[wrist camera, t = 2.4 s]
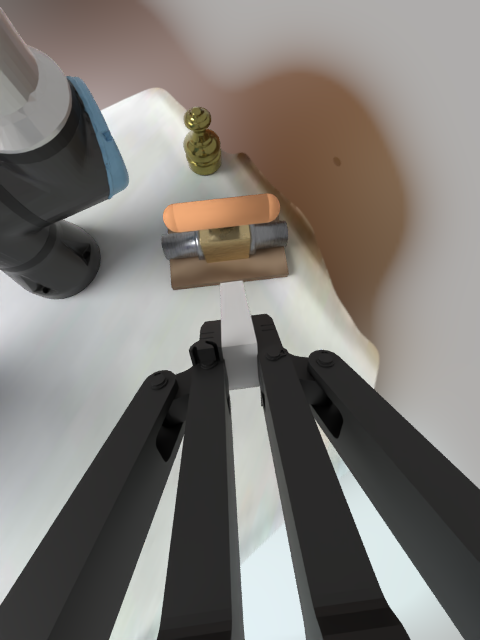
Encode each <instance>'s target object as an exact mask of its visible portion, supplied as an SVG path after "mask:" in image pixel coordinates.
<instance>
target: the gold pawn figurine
mask: <svg viewBox="0 0 480 640" xmlns="http://www.w3.org/2000/svg"><path fill="white" fill-rule="evenodd" d="M210 123H211V115H210V112H209V111H208V110H207V109H205V108H202V107H193V108H190V109H189V110H188V111H187V112H186V113H185V114H184V124H185V126H186V127H187V128H188V129H190V130H192V131H190V132H189V133H188V134H187V135H186V137H185V139H184V143H183V146H184V150H185V153H186V158H187V161H188V165H189V167H190V169H191V170H192V171H193V172H195V173H197V174H200V175H209V174H212V173H214V172H216V171H217V170H218V169H219V167H220V165H221V162H222V158H221V149H220V139H219V137H218V135H217V134H216V133H215V132H214V131H213V130H211V129H208V127H209V125H210Z"/></svg>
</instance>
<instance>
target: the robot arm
mask: <svg viewBox="0 0 480 640" xmlns="http://www.w3.org/2000/svg"><path fill="white" fill-rule="evenodd" d="M128 183H129V176H128V172H127V169H126V166H125V164H124V161H123V159H122V156H121V154H120V152H119V149H118V147H117V145H116V143H115V141H114V139H113V137H112V136H111V133H110V131H109V129H108V126H107V124H106V122H105V119H104V117H103V115H102V113H101V111H100V110H99V108H98V106H97V104H96V102H95V100H94V99H93V96H92V94H91V93H90V91H89V89H88V88H87V86H86V84H85V83H84V82H83V81H82V79H80V78H78V77H70V76H67V77H66V76H65V74H64V73H63V72H62V70H61V68H60V67H59V66H58V65H57V64H56V63H55V62H54V61H53V60H52V59H51V58H50V57H49V56H48V55H46V54H45V53H43V52H41V51H40V50H38V49H36V48H34V47H31V46H29V45H26V44H25V42H24V41H23V39H22V38H21V36H20V35H19V33H18V32H17V30H16V29H15V28H14V26H13V24H12V23H11V22H10V20H9V19H8V17H7V16H6V14H5V13H4V11H3V10H2V9H1V7H0V270H2V271H3V272H4V273H6V274H7V275H8V276H9V277H11V278H12V279H13V280H14V281H15V282H17V283H18V284H19V285H20V286H22V287H23V288H24V289H26V290H27V291H29V292H31V293H33V294H36V295H39V296H42V297H45V298H49V299H62V298H67V297H70V296H73V295H75V294H77V293H79V292H80V291H82V290H83V289H84V288H86V287H87V286H88V285H89V284H90V283H91V281H92V280H93V279H94V277H95V275H96V273H97V271H98V269H99V265H100V251H99V247H98V245H97V243H96V241H95V240H94V239H93V238H92V237H91V236H90V235H89V234H88V233H87V232H86V231H84V230H83V229H82V228H80V227H79V226H77V225H75V224H73V223H70V222H68V221H65V220H63V219H65V218H67V217H69V216H72V215H74V214H76V213H78V212H81V211H83V210H85V209H87V208H89V207H92V206H94V205H96V204H98V203H101V202H103V201H105V200H107V199H111V198H112V196H113V195H115V194H117V193H119V192H120V191H122V190H124V189H125V188H126V187H127V186H128ZM220 296H221V320H216V321H207V322H205V323H204V324H203V325H202V327H201V330H200V340H199V341H198V342H196V343H194V344H193V345H192V346H191V347H190V349H189V353H190V357H191V360H192V364H193V366H192V367H191V368H190V369H188V370H186V371H184V372H182V373H179V374H176V375H175V374H174V373H172V372H171V371H168V370H162V371H158V372H155V373H153V374H152V375H150V376H149V377H148V378H147V379H146V380H145V381H144V382H143V384H142V386H141V387H140V389H139V390H138V392H137V393H136V395H135V396H134V398H133V400H132V401H131V403H130V404H129V406H128V407H127V409H126V410H125V412H124V414H123V415H122V417H121V418H120V420H119V421H118V423H117V424H116V426H115V428H114V429H113V431H112V432H111V434H110V435H109V437H108V439H107V440H106V442H105V443H104V445H103V446H102V448H101V449H100V451H99V453H98V454H97V456H96V457H95V459H94V460H93V462H92V463H91V465H90V467H89V468H88V470H87V471H86V473H85V474H84V476H83V477H82V479H81V481H80V482H79V484H78V485H77V487H76V488H75V490H74V492H73V493H72V495H71V496H70V498H69V499H68V501H67V502H66V504H65V506H64V507H63V509H62V510H61V512H60V513H59V515H58V516H57V518H56V520H55V521H54V523H53V524H52V526H51V527H50V529H49V531H48V532H47V534H46V535H45V537H44V538H43V540H42V541H41V543H40V545H39V546H38V548H37V549H36V551H35V552H34V554H33V555H32V557H31V559H30V560H29V562H28V563H27V565H26V566H25V568H24V569H23V571H22V573H21V574H20V576H19V577H18V579H17V580H16V582H15V584H14V585H13V587H12V588H11V590H10V591H9V593H8V594H7V596H6V598H5V599H4V601H3V602H2V604H1V605H0V640H109V638H110V635H111V632H112V630H113V627H114V624H115V621H116V619H117V616H118V613H119V611H120V608H121V605H122V602H123V600H124V597H125V594H126V591H127V589H128V586H129V583H130V580H131V578H132V575H133V572H134V570H135V567H136V564H137V561H138V559H139V556H140V553H141V550H142V548H143V545H144V542H145V539H146V537H147V534H148V531H149V529H150V526H151V523H152V520H153V518H154V515H155V512H156V509H157V507H158V504H159V501H160V498H161V496H162V493H163V490H164V488H165V485H166V482H167V479H168V477H169V474H170V471H171V468H172V466H173V463H174V460H175V458H176V455H177V452H178V449H179V447H180V444H181V441H182V438H183V436H184V441H183V449H182V457H181V464H180V472H179V480H178V488H177V496H176V504H175V512H174V520H173V528H172V536H171V544H170V552H169V560H168V568H167V576H166V584H165V592H164V600H163V607H162V615H161V622H160V629H159V633H158V637H157V640H245V639H244V625H243V609H242V592H241V574H240V557H239V540H238V523H237V506H236V489H235V471H234V454H233V437H232V420H231V403H230V395H229V390H235V389H243V388H251V387H259V386H260V388H261V406H263V409H264V415H265V420H266V425H267V431H268V436H269V441H270V446H271V452H272V457H273V462H274V467H275V473H276V478H277V483H278V488H279V494H280V499H281V504H282V510H283V515H284V520H285V525H286V530H287V536H288V541H289V546H290V552H291V557H292V562H293V567H294V573H295V578H296V583H297V588H298V594H299V599H300V603H301V610H302V615H303V621H304V627H305V634H306V640H410V638H409V636H408V634H407V632H406V630H405V629H404V627H403V625H402V623H401V622H400V621H399V619H398V618H397V617H396V615H395V614H394V613H393V611H392V610H391V608H390V607H389V605H388V603H387V601H386V600H385V598H384V595H383V593H382V591H381V588H380V586H379V583H378V581H377V578H376V576H375V573H374V571H373V568H372V566H371V563H370V560H369V558H368V555H367V553H366V550H365V547H364V545H363V542H362V540H361V537H360V535H359V532H358V529H357V527H356V524H355V522H354V519H353V517H352V514H351V512H350V509H349V506H348V504H347V502H346V499H345V496H344V494H343V491H342V489H341V486H340V483H339V481H338V478H337V476H336V473H335V470H334V468H333V465H332V463H331V460H330V458H329V455H328V452H327V450H326V447H325V445H324V442H323V440H322V437H321V435H320V432H319V429H318V427H317V424H316V422H315V420H316V421H317V423H318V424H319V426H320V427H321V429H322V430H323V432H324V433H325V435H326V436H327V437H328V439H329V440H330V442H331V443H332V445H333V446H334V448H335V449H336V451H337V452H338V454H339V455H340V457H341V458H342V460H343V461H344V463H345V464H346V465H347V467H348V468H349V470H350V471H351V473H352V474H353V476H354V477H355V479H356V480H357V482H358V483H359V485H360V486H361V488H362V489H363V491H364V492H365V493H366V495H367V496H368V498H369V499H370V501H371V502H372V504H373V505H374V507H375V508H376V510H377V511H378V513H379V514H380V516H381V517H382V518H383V520H384V521H385V523H386V524H387V526H388V527H389V529H390V530H391V532H392V533H393V535H394V536H395V538H396V539H397V541H398V542H399V543H400V545H401V547H402V548H403V550H404V551H405V552H406V554H407V555H408V557H409V558H410V560H411V561H412V563H413V564H414V566H415V567H416V569H417V570H418V571H419V573H420V575H421V576H422V578H423V579H424V580H425V582H426V583H427V585H428V586H429V588H430V589H431V591H432V592H433V594H434V595H435V597H436V598H437V599H438V601H439V603H440V604H441V605H442V607H443V608H444V610H445V611H446V613H447V614H448V616H449V617H450V618H451V620H452V622H453V623H454V625H455V626H456V628H457V629H458V630H459V632H460V634H461V635H462V636H463V638H464V639H465V640H480V489H478V487H476V486H475V485H474V484H473V483H472V482H471V481H470V480H469V479H468V478H467V477H466V476H465V475H464V474H463V473H462V472H461V471H460V470H459V469H458V468H456V467H455V466H454V465H453V464H452V463H451V462H450V461H449V460H448V459H447V458H446V457H445V456H443V454H442V453H441V452H440V451H438V450H437V449H436V448H435V447H434V446H433V445H432V444H431V443H430V442H429V441H428V440H427V439H426V438H424V436H423V435H422V434H421V433H419V432H418V431H417V430H416V429H415V428H414V427H413V426H412V425H411V424H410V423H409V422H408V421H407V420H406V419H405V418H404V417H402V415H400V414H399V413H398V412H397V411H396V410H395V409H394V408H393V407H392V406H391V405H390V404H389V403H388V402H387V401H386V400H384V398H382V397H381V396H380V395H379V394H378V393H377V392H376V391H375V390H374V389H373V388H372V387H371V386H370V385H369V384H368V383H367V382H366V381H365V380H364V379H362V378H361V377H360V376H359V375H358V374H357V373H356V372H355V371H354V370H353V369H352V368H351V367H350V366H349V365H348V364H347V363H346V362H344V361H343V360H342V359H341V358H340V357H339V356H338V355H336V354H335V353H333V352H330V351H327V350H318V351H314V352H312V353H311V354H310V356H309V358H307V357H299V356H294V355H292V354H289V353H288V351H287V350H286V349H285V348H283V346H282V344H281V341H280V338H279V336H278V333H277V330H276V327H275V325H274V322H273V319H272V318H271V317H270V316H269V315H267V314H261V315H252V316H251V315H250V310H249V306H248V302H247V297H246V293H245V289H244V284H243V281H234V282H226V283H220ZM314 418H315V419H314Z"/></svg>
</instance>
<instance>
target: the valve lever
mask: <svg viewBox="0 0 480 640" xmlns="http://www.w3.org/2000/svg"><path fill="white" fill-rule="evenodd" d="M279 212H280V203H279V201H278V199H277V198H276V197H275V196H274V195H272V194H258V195H249V196H240V197H231V198H222V199H212V200H203V201H194V202H185V203H176V204H171V205H169V206H168V207H166V209H165V210H164V213H163V220H164V223H165V225H166V226H167V228H168V229H170V230H171V231H173V232H177V233H178V232H188V231H197V230H206V229H215V228H224V227H233V226H241V225H250V224H259V223H268V222H271V221H273V220H274V219H275V218H276V217H277V216H278V214H279Z"/></svg>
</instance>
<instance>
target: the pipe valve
mask: <svg viewBox="0 0 480 640" xmlns="http://www.w3.org/2000/svg"><path fill="white" fill-rule="evenodd" d="M161 240H162V248H163V251H164V254H165V257H166V258H167V259H168V260H170V271H171V286H172V288H173V289H174V290H178V289H187V288H195V287H204V286H212V285H220V283H226V282H234V281H243V282H246V281H254V280H263V279H271V278H280V277H287V276H288V274H289V273H288V267H287V261H286V256H285V250H284V246H286V245H287V241H288V229H287V224H286V221H279V216H277V217H276V218H275V219H274V220H273V221H271V222H268V223H259V224H250V225H241V226H233V227H224V228H215V229H206V230H197V231H188V232H178V233H177V232H173V231H171V230H170V229H168V234H163V235H162V239H161Z"/></svg>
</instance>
